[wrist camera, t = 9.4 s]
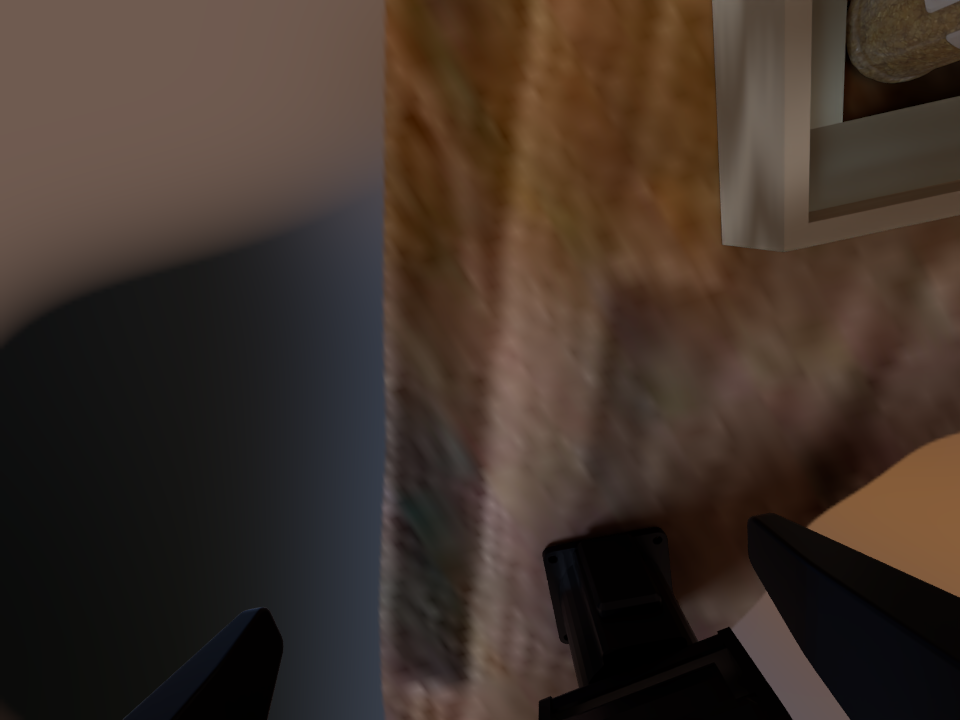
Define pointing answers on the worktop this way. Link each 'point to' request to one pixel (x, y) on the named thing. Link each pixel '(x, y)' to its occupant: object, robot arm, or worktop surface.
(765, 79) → the peg box
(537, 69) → the worktop surface
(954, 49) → the sprinkles bottle
